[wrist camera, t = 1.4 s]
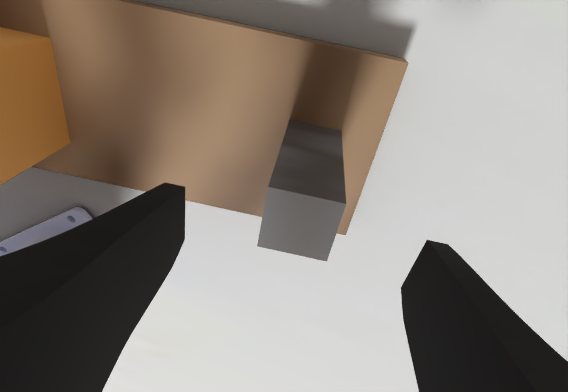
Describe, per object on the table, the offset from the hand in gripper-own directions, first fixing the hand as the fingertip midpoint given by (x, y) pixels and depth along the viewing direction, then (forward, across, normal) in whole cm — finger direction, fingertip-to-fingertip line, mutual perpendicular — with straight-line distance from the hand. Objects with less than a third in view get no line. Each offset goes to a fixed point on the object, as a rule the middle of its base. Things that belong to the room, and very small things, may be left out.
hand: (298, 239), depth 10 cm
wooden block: (+8, +9, 0) cm, 12 cm away
